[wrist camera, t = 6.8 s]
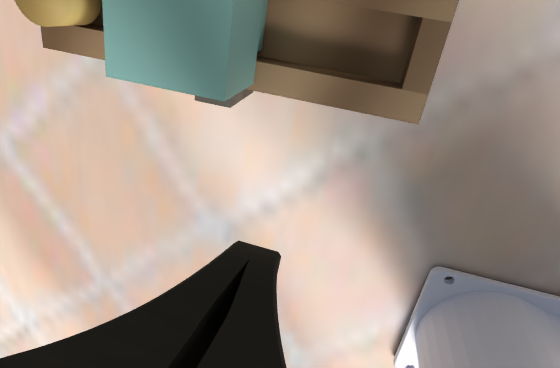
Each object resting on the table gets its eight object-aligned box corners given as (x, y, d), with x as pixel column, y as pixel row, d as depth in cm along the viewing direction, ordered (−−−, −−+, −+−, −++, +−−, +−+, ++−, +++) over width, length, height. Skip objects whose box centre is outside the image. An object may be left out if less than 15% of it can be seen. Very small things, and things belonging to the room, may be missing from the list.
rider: (277, -33, 15) (237, -50, 11) (262, 78, 17) (224, 101, 13) (175, -49, 16) (98, -72, 11) (172, 60, 18) (106, 76, 13)
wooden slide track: (455, -33, 15) (489, -52, 11) (406, 123, 18) (417, 160, 14) (77, -89, 18) (-26, -124, 13) (87, 58, 20) (6, 71, 16)
